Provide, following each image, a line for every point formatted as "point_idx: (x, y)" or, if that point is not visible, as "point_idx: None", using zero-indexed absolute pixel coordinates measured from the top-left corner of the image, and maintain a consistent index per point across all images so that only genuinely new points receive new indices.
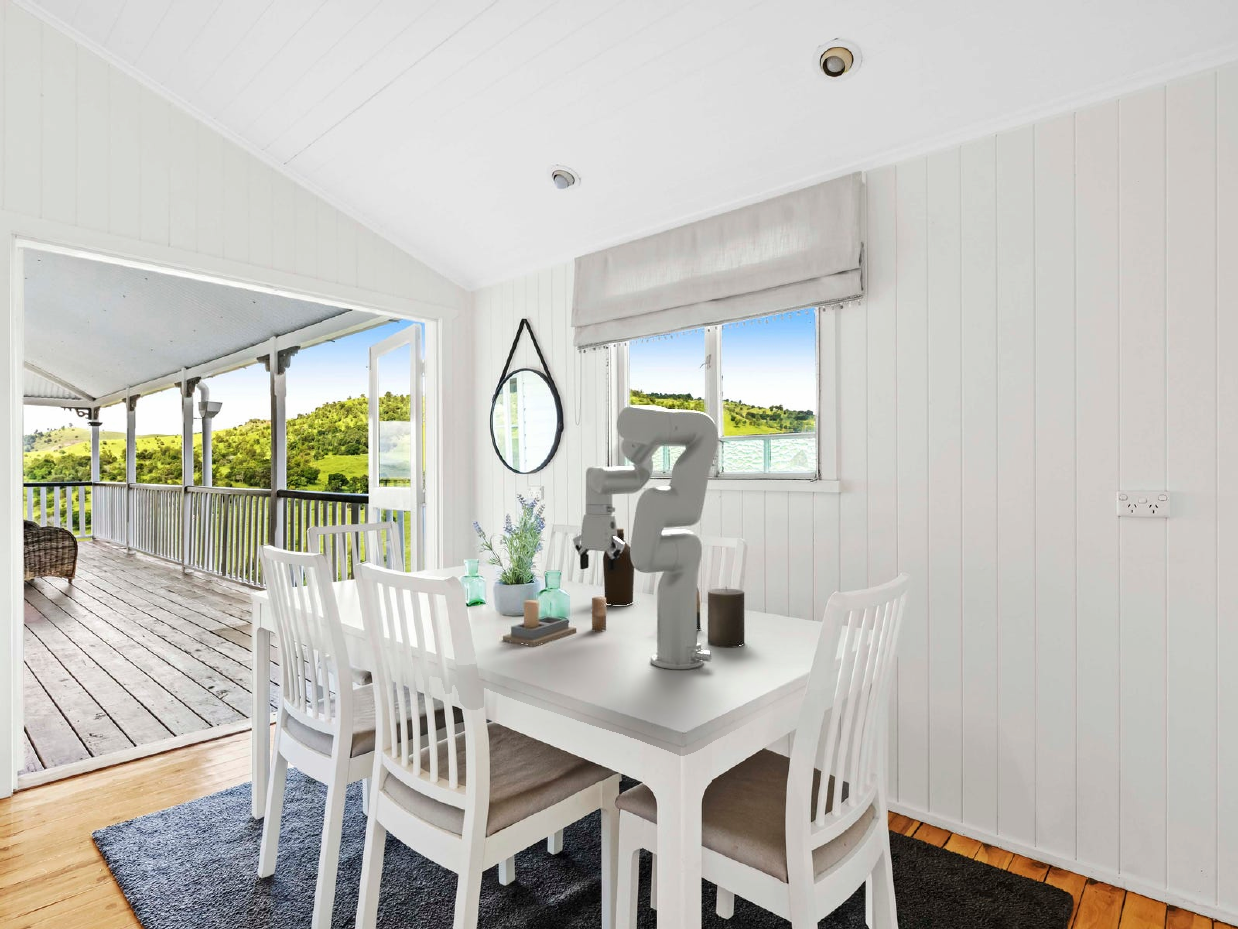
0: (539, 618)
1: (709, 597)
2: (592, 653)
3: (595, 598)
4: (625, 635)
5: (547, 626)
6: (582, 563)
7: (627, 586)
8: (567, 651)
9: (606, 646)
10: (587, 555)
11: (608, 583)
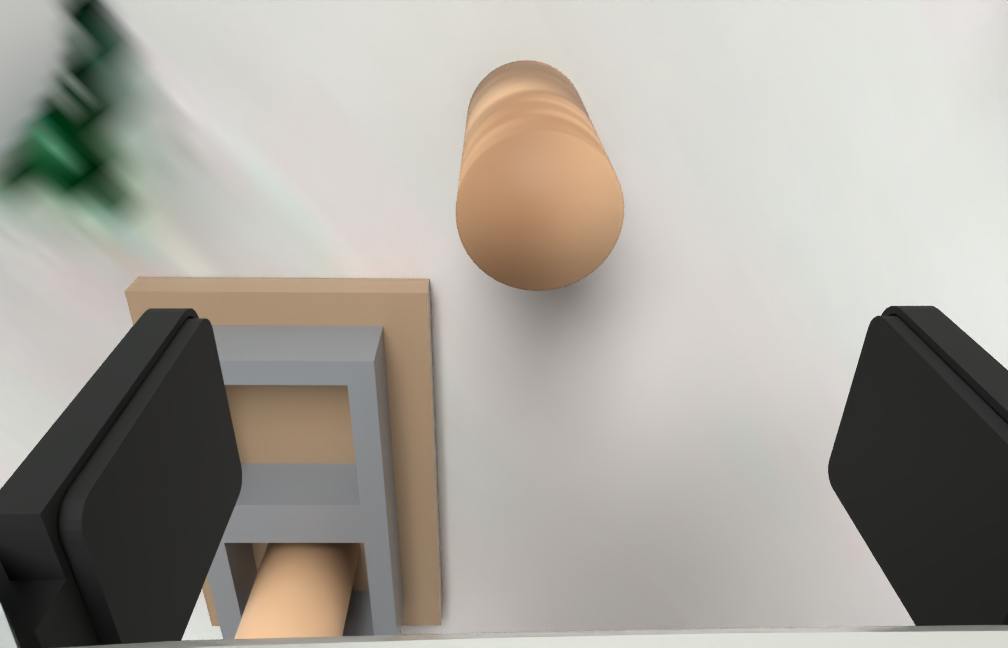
0: None
1: None
2: (773, 556)
3: (514, 249)
4: (797, 153)
5: (389, 550)
6: (209, 566)
7: None
8: (638, 585)
9: (787, 433)
10: (98, 553)
11: None
